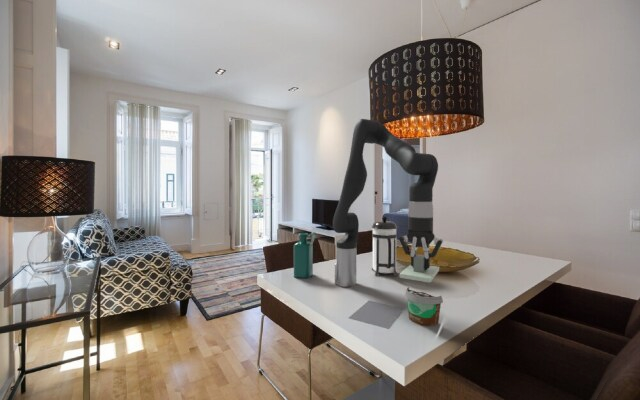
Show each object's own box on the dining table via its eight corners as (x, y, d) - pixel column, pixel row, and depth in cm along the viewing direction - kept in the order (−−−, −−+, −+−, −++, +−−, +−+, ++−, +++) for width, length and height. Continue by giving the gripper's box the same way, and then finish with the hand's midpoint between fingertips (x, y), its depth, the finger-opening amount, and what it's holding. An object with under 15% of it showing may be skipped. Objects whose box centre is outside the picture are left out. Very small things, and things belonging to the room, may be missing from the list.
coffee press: (362, 273, 147) (362, 216, 146) (381, 267, 158) (381, 214, 157) (390, 281, 134) (390, 218, 133) (408, 274, 144) (409, 216, 143)
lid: (399, 277, 87) (399, 259, 87) (412, 266, 99) (412, 250, 99) (430, 282, 82) (430, 263, 82) (439, 270, 95) (439, 253, 94)
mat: (348, 319, 94) (348, 317, 94) (369, 301, 109) (369, 300, 109) (388, 330, 87) (388, 328, 87) (405, 309, 102) (405, 308, 102)
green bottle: (292, 277, 140) (292, 233, 140) (298, 272, 148) (298, 231, 148) (310, 279, 138) (310, 234, 137) (316, 274, 146) (316, 232, 145)
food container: (397, 320, 93) (398, 290, 93) (407, 314, 98) (407, 286, 97) (434, 333, 85) (434, 301, 84) (442, 326, 89) (443, 295, 89)
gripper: (446, 215, 90) (445, 269, 90) (402, 213, 97) (401, 263, 98) (442, 217, 83) (441, 275, 84) (395, 215, 91) (395, 268, 91)
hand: (420, 268), depth 91 cm, fingers closed on lid, 3 cm apart
